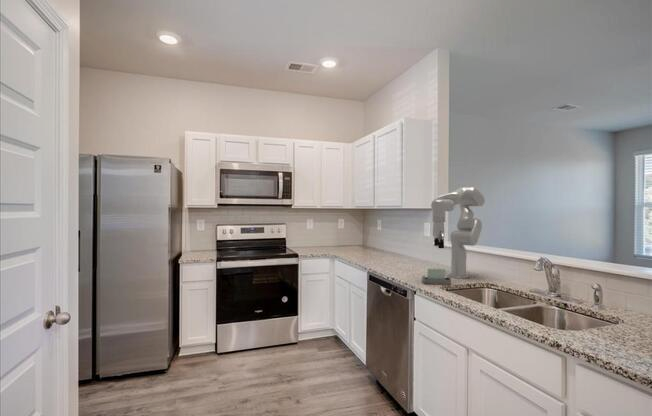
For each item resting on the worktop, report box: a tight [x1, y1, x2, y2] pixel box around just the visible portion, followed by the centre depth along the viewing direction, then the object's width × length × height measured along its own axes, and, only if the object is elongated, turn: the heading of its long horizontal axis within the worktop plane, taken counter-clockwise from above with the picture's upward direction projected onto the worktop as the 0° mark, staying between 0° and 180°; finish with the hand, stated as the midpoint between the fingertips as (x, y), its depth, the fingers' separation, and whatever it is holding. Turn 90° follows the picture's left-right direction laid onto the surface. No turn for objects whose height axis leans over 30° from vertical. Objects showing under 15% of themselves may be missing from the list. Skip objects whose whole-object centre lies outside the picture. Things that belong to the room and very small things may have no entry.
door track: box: [421, 275, 452, 286], centre depth 203 cm, size 7×16×4 cm, turn 86°
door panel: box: [427, 267, 446, 280], centre depth 203 cm, size 3×10×8 cm, turn 86°
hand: (439, 246), depth 205 cm, fingers open, 9 cm apart
